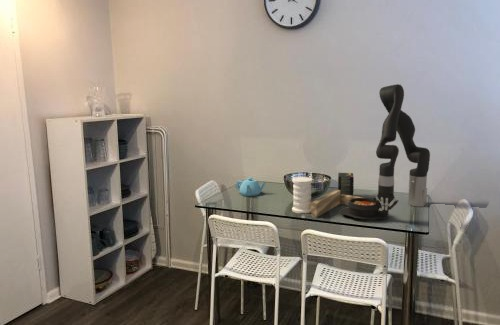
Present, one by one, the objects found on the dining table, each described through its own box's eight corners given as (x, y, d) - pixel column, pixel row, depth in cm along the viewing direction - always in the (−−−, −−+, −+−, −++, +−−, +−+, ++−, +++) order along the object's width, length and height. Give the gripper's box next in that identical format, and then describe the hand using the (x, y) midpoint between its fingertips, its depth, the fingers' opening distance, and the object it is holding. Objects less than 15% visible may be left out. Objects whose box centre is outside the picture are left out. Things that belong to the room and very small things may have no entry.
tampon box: (353, 200, 249) (354, 176, 246) (337, 199, 251) (338, 176, 248) (352, 195, 259) (353, 172, 257) (337, 194, 261) (338, 172, 258)
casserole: (390, 213, 223) (390, 198, 221) (386, 225, 206) (386, 208, 205) (343, 208, 233) (343, 194, 232) (336, 219, 217) (336, 203, 215)
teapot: (252, 189, 279) (252, 174, 277) (267, 194, 268) (266, 177, 265) (234, 193, 270) (233, 177, 268) (248, 198, 259) (247, 181, 256)
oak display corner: (367, 206, 236) (367, 193, 235) (343, 223, 211) (343, 208, 209) (337, 201, 247) (337, 188, 246) (311, 216, 222) (311, 202, 220)
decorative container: (308, 206, 240) (308, 176, 236) (315, 212, 228) (315, 180, 225) (289, 208, 237) (289, 177, 234) (295, 214, 226) (295, 182, 222)
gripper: (401, 183, 208) (400, 216, 212) (375, 180, 216) (374, 212, 219) (397, 187, 202) (395, 220, 206) (370, 183, 210) (369, 216, 213)
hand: (385, 216), depth 213 cm, fingers closed
